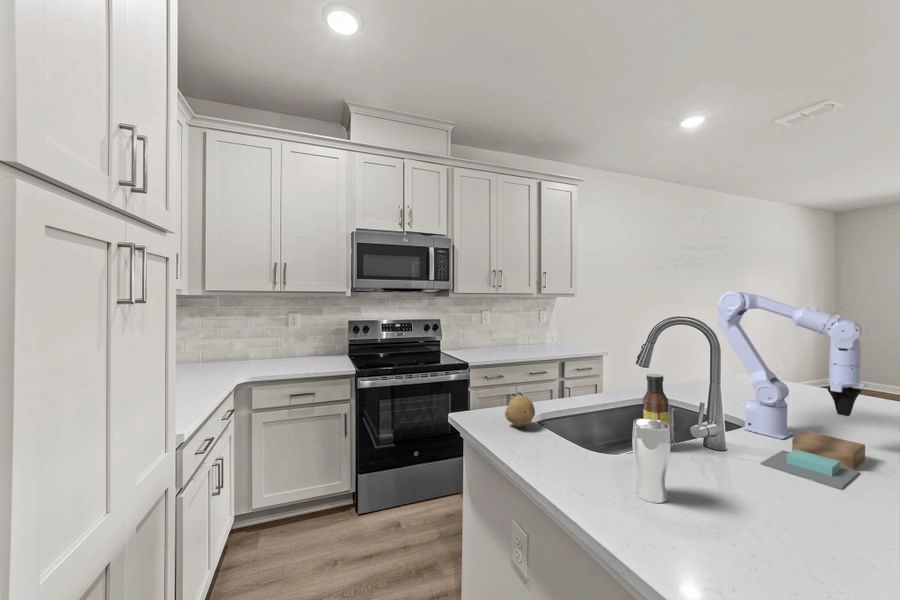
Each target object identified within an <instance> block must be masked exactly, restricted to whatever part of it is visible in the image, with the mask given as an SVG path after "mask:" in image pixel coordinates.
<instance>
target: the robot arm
mask: <svg viewBox="0 0 900 600" xmlns="http://www.w3.org/2000/svg"><path fill="white" fill-rule="evenodd" d="M716 306H717V309H718V310H717V311H718V312H717V324H718V327H719V328H720V330H721V331H722V333H723V334H724V337H725V338H726V339H727V341H728V343H729V344H730V346H731V347H732V349H733V351H734V352H735V354H736V355H737V358H738V359H739V360H740V362H741V363H742V365H743V367H744V368H745V370H746V371H747V373H748V375H749V376H750V377H749V379H750V384H751V385H752V388H753V394H754V397H755V399H749V400H747V401H746V403H745V407H744V428H743V430H744V429H745V430H744V431H747V432H753V433H756V434H760V435H764V436H768V437H771V438H776V439H779V440H785V439H786V438H789V437H790V436H793V435H794V434H793V432H792V431H788V403H787V402H786V400H785V399H786V398H788V396H789V392H790V391H789V388H788V385H787V384H786V383H785V382H783V381H781V380H780V379H779V378H778V377H777V376H776V375H777V374H775V373H774V372H773V371H772V370H771V369H769V367H768V365H767V364H766V362H765V361H764V359H763V358H762V356H761V355H760V353H759V352H758V350H757V349H756V347H755V345H754V344H753V342H752V341H751V339H750V338H749V336H748V335H747V333H746V332H745V330H744V329H743V327H742V325H741V324H740V322H741V320H742V318H743V316H744V314H745V313H746V312H747V311H748V310H756V309H758V310H759V309H760V310H763V311H767V312H769V313H773V314H776V315H779V316H782V317H786V318H789V319H791V320H793V322H794V324H795V325H796V326H797V327H801V328H804V329H806V330H808V331H812V332H815V333H817V334H819V335H820V334H821V335H828V336H829V338H830V346H829V357H828V359H829V360H828V361H829V367H828V368H829V369H828V377H829V378H828V379H827V382H828V384H829V386H828V387H827V392H829V394H830V396H831V398H832V400H833V403H834V407H835V410H836V414H837V415H839V416H844V417H850V416H851V414H852V411H853V408H854V405H855V403H856V400H857V398H858V397H859V395H860V394H861V393H862V389H859V388H857V387H863V388H865V387H867V386H868V383H867V382H866V383H865V382H861V356H862V355H861V354H862V353H861V352H862V351H861V350H862V349H861V347H860V346H861V341H860V336H862V332H863V329H862V327H861V325H860V324H859V323H858V322H856V321H854V320H852V319H850V318H842V316H841V315H839V314H835V315H833V314H830V313H827V312H824V311H821V310H820V309H819V307H816V306H811V307H808V306H805V307H802V308H797V307H793V306H791V305H788V304H784V303H782V302H779V301H776V300H774V299H771V298H769V297H765V296H762V295H758V294H754V293H748V292H745V291H727V292H725V293H724V294H722V295H721V296H720V298H719V299H718V302H717V303H716ZM841 318H842V319H841Z"/></svg>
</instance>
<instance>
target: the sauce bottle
mask: <svg viewBox="0 0 900 600" xmlns="http://www.w3.org/2000/svg"><path fill="white" fill-rule="evenodd" d="M646 381H647V384H646V385H647V388H646V389H647V391H646V393H645V394H644V396H643V402H642V403H643V407H642V408H643V409H642V412H643V413H642V416H643V418H646V419H654V420H659V421H662V422H664V423H666V424H668V425H669V432H670V433H671V426H670V425H671V424H670V410H669V399H668V397H667V396H666V394H665V392H664V384H663V382H664V375H662V374H657V373H649V374H646Z"/></svg>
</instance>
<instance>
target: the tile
mask: <svg viewBox="0 0 900 600" xmlns="http://www.w3.org/2000/svg"><path fill="white" fill-rule="evenodd" d="M789 452H790V451H789ZM786 463H789V464H793V465H796V466H799V467H803V468H806V469H810V470H813V471H816V472H820V473H823V474H826V475H830V476H833V475H834V474H835V473H837V472H838V471H839V470H840V461H837V460H833V459H830V458H826V457H822V456H819V455H815V454H811V453H808V452H804V451H800V450H796V449H795V450H793V451H792V450H791V452H790V453H788V454H787V459H786Z"/></svg>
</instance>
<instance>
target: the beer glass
mask: <svg viewBox="0 0 900 600" xmlns="http://www.w3.org/2000/svg"><path fill="white" fill-rule="evenodd" d="M632 425H633V426H632V439H631V440H632V441H631V443H632V444H631V445H632V454H633V460H634V466H635V471H636V477H635V479H636V480H635V484H634V489H633V491H634V492H633V493H634V495H636V496H637V497H638V498H640V499H641V500H643V501H644V502H645V501H646V502H648V503H654V504H663V503H665V502H666V501H668V493H667V488H666V487H667V486H666V478H667V477H666V476H667V471H668V467H669V463H670V457H671V455H670V454H671V431H670V432H669V425H668V424H666V423H664V422H662V421H659V420H654V419H646V418H636V419H634V420H633V424H632Z"/></svg>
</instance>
